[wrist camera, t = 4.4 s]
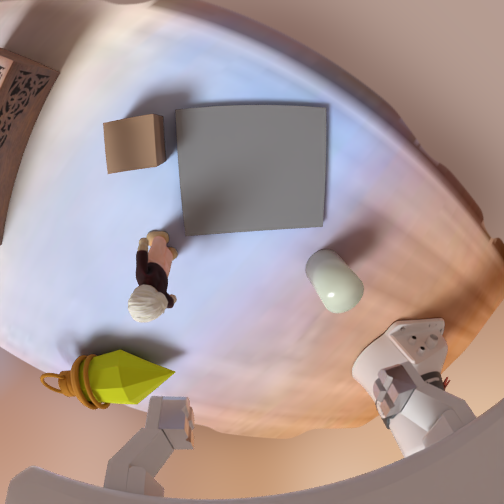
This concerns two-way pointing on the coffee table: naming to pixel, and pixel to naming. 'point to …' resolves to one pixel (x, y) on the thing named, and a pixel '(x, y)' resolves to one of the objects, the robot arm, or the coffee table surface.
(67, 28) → the coffee table surface
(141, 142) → the walnut block
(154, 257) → the grandmother figurine
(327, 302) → the sage green capsule
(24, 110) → the tissue box cover
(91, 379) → the plumb bob
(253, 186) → the slate mat
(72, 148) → the coffee table surface
